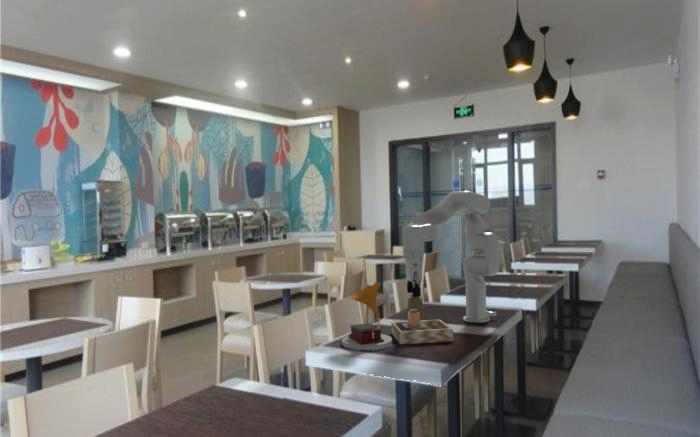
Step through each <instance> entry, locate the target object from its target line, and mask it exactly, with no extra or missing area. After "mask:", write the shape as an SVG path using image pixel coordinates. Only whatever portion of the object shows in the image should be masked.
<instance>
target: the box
mask: <svg viewBox="0 0 700 437" xmlns="http://www.w3.org/2000/svg"><path fill="white" fill-rule="evenodd" d="M420 322H422V323H423V324H424V325H426V326H427V330H414V331H401V323H408V320H407V321H405V320H404V321H391V322H390V323H391V324H390V325H391V335H392V336H393V337H394V338H395V340H396V341H397V342H398V343H399V345H410V344H413V345H414V344H426V343H427V344H428V343H443V342H444V343H445V342H454V328H452V327H451V326H449V325H448V324H446V323H445V322H444V321H443V320H441V319H426V320H424V319H423V320H422V321H420Z"/></svg>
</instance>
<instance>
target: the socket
mask: <svg viewBox="0 0 700 437" xmlns="http://www.w3.org/2000/svg"><path fill="white" fill-rule="evenodd" d="M414 330H427V326H426V325H424V324H423V323H422V322H420V326H416V327H409V326H408V323H401V331H414Z"/></svg>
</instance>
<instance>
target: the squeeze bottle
mask: <svg viewBox="0 0 700 437" xmlns="http://www.w3.org/2000/svg"><path fill="white" fill-rule="evenodd" d="M410 309H417V310H418V312H419V313H420V321H422V320H424V318H425V312H424V304H423V298H421V296H420V297H413V293H409V298H408V300H407V314H406V317H407V318H408V312H409V311H410Z"/></svg>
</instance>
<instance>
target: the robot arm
mask: <svg viewBox="0 0 700 437" xmlns="http://www.w3.org/2000/svg"><path fill="white" fill-rule="evenodd" d="M490 209H491V201H490V199H489V198H488V197H487V196H485V195H483V194H480V193H477V192H474V191H470V190H459V191H452V192H448V193H447V194H446V195H445V196H444V197H443V198H442V199H440V202H438V203H437V204H436V205H435V206H434V207H433V208H430V209H428V210H426V211H425V212H423V213H420V214H418V215H417V216H416V217H414V218H413V219H412V220H411V221H410V222H409V223H408V225H404V226H402V229H401V234H402V254H403V255H402V258H403V259H404V260H405V278H406V280H407V281H406V288H407V289H406V290H407V294H410V293H413V297H420V298H421V294H422V293H421V282H422V281H423V273H422V265H421V264H422V263H421V258H422V248H421V247H422V246H421V243H422V242H431V241H433V240H435V239H436V237H437V235H438V230H437V228H436V226H438V225H442V224H444V223H448V221H449V220H450V219H451V218H452V217H453V216H454V215H455V213H457V212H458V213H460V215H461V216H462V218H463V219H464V222H465V245H466V246H465V247H466V249H467V250H468V251H469V252H473V253H484V254H483V255H482V254H469V255H466V256H465V257H464V258H463V260H462V269H463V274H464V280H465V282H464V283H465V311H466V312H465V316H463V318H462V320H463V321H465V322H467V323H477V324H480V323H481V324H482V323H487V322H490V321H491V316H492V317H495V316H497V311H489V310H487V286H486V285H487V284H486V280H485V278H484V276H488V277H493V276H496V275H497V274H498V273H499V270H500V251H501V250H500V241H499V237H498V235H497V234H495V233H493V232H485V222H484V221H485V220H484V219H483V217H482V216H481V215H484V214H487V213H488V212H489V211H490Z"/></svg>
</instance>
